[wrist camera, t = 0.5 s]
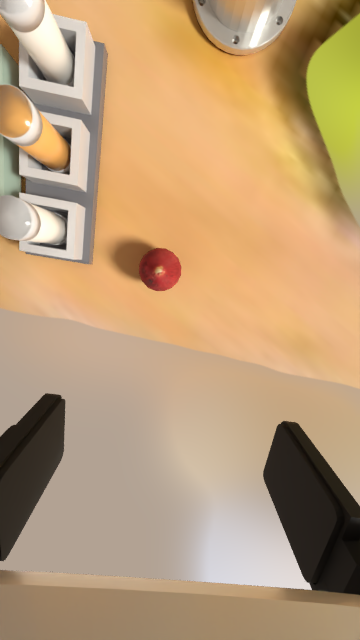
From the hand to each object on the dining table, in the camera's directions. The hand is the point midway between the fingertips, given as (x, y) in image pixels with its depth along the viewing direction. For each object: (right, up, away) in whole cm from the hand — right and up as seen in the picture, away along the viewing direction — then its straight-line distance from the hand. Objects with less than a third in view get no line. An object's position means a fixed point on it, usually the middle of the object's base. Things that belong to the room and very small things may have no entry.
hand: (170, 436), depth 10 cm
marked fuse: (-15, +26, +21) cm, 37 cm away
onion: (-2, +13, +26) cm, 29 cm away
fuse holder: (-15, +27, +22) cm, 38 cm away
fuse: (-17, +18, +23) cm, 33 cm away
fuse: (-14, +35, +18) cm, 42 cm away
